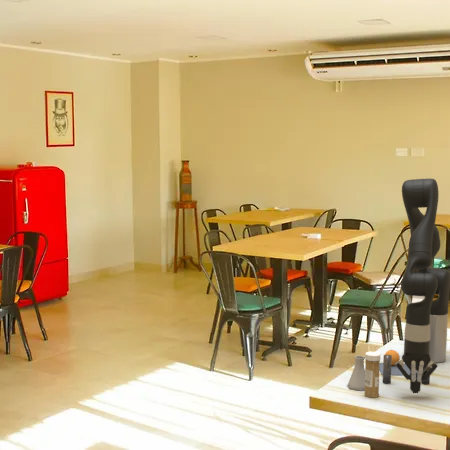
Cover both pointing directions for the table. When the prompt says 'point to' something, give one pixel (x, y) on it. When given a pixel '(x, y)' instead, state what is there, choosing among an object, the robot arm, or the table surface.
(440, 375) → the table surface
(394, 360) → the ball
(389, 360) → the post
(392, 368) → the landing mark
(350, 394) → the table surface
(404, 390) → the table surface
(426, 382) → the post
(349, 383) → the flask
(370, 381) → the sprinkles bottle
